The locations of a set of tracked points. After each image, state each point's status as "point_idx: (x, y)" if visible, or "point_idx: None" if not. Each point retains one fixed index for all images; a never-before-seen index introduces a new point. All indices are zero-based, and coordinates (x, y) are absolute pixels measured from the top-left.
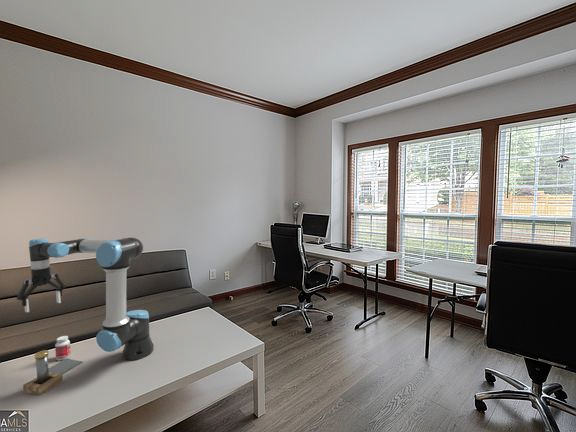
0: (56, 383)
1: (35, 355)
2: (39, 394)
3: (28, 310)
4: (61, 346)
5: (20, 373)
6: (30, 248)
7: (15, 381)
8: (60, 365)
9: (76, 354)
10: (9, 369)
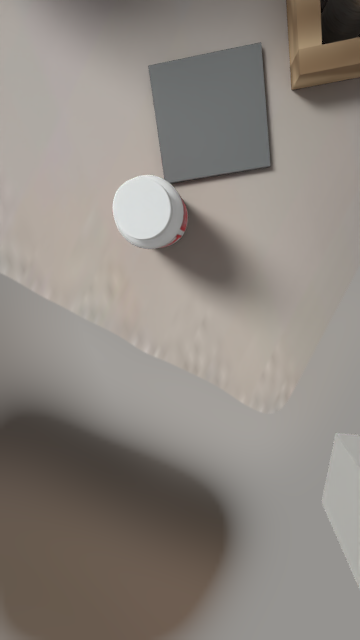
0: None
1: None
2: None
3: (356, 449)
4: (169, 183)
5: (306, 261)
6: None
7: (352, 207)
8: (211, 139)
9: None
10: (301, 343)
